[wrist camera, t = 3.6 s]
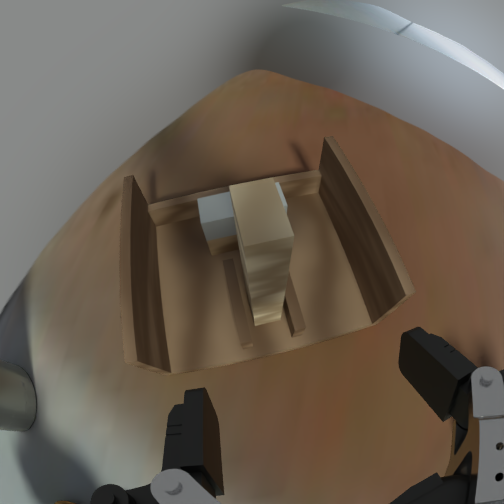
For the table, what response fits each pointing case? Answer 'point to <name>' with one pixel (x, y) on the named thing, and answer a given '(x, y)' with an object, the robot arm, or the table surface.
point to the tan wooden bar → (263, 246)
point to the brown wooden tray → (232, 279)
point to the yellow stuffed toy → (64, 502)
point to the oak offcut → (223, 244)
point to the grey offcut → (221, 214)
